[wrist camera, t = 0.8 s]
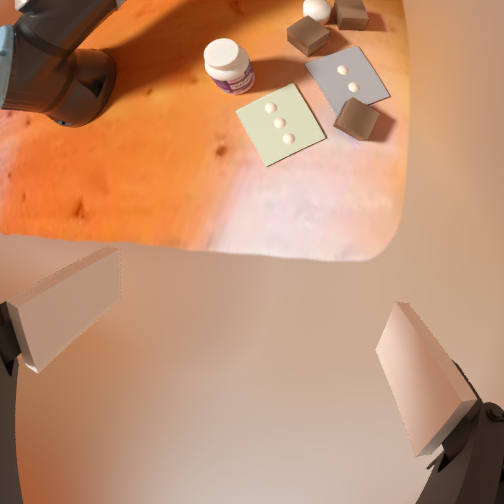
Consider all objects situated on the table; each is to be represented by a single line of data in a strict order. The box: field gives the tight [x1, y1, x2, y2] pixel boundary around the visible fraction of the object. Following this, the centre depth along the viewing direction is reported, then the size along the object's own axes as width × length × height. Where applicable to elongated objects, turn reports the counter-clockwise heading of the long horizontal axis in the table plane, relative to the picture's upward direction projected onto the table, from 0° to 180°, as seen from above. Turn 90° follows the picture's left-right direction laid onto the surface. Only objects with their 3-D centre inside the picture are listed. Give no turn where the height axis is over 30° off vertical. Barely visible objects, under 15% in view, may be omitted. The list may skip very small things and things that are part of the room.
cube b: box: [332, 0, 369, 31], centre depth 26 cm, size 4×4×4 cm
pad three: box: [235, 83, 325, 167], centre depth 34 cm, size 9×9×1 cm
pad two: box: [305, 46, 389, 117], centre depth 31 cm, size 9×9×1 cm
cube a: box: [287, 15, 330, 57], centre depth 28 cm, size 4×4×4 cm
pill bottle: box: [204, 38, 255, 95], centre depth 28 cm, size 5×5×10 cm
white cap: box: [303, 0, 331, 25], centre depth 27 cm, size 4×4×3 cm
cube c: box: [333, 97, 380, 140], centre depth 30 cm, size 4×4×4 cm
